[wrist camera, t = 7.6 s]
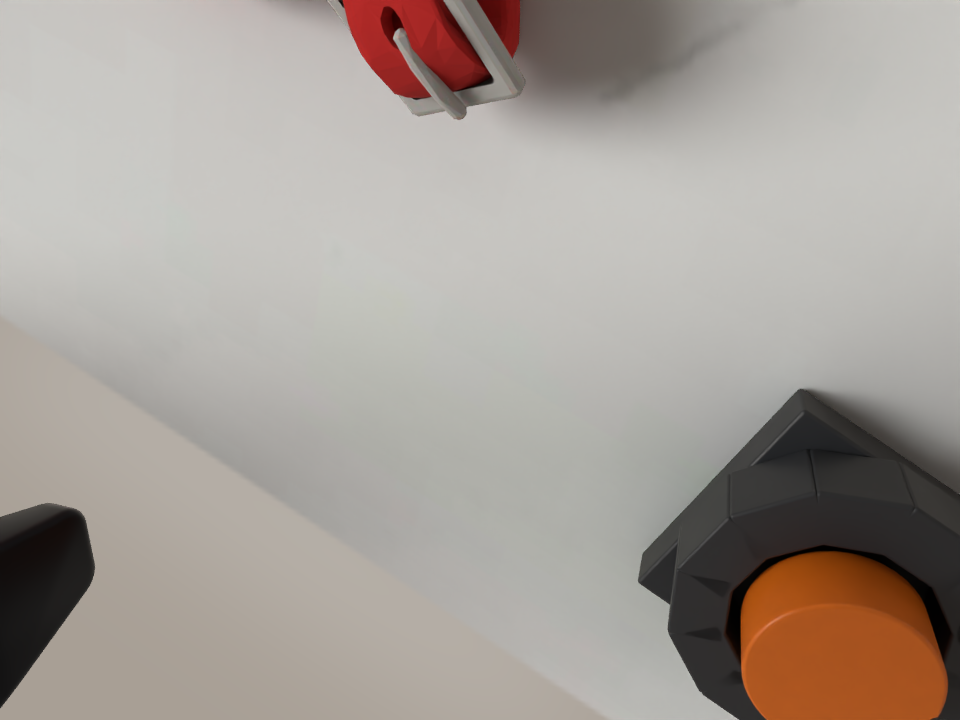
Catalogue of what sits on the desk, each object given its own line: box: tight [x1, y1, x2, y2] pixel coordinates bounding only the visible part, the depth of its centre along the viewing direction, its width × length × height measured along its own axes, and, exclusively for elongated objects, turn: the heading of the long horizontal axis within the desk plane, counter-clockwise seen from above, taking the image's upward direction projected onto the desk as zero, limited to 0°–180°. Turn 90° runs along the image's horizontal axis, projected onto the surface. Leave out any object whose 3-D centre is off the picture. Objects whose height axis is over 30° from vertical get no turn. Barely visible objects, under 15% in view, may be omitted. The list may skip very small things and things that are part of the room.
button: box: [741, 551, 948, 720], centre depth 16 cm, size 4×4×2 cm
